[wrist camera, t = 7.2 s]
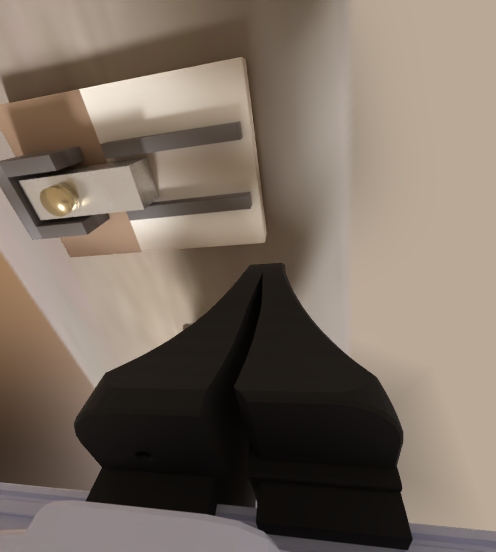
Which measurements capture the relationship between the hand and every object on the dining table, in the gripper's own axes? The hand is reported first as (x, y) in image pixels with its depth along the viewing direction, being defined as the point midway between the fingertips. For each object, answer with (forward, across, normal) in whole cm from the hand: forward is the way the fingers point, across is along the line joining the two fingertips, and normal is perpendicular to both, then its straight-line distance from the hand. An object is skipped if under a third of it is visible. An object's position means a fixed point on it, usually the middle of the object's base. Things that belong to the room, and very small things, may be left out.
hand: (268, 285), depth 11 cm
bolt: (+8, +11, -3) cm, 14 cm away
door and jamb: (+9, +8, -3) cm, 13 cm away
